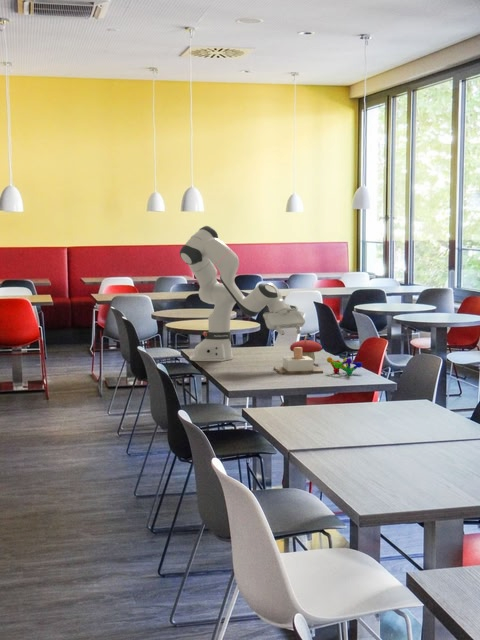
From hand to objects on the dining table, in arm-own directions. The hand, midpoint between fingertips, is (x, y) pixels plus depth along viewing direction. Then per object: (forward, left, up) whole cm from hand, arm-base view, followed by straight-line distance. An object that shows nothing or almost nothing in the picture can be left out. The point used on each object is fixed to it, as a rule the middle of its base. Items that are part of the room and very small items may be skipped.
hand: (291, 333), depth 404 cm
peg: (+2, -8, -16) cm, 17 cm away
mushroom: (+11, +14, -17) cm, 25 cm away
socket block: (+2, -8, -17) cm, 18 cm away
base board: (+2, -8, -17) cm, 18 cm away
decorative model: (+21, -20, -17) cm, 33 cm away
